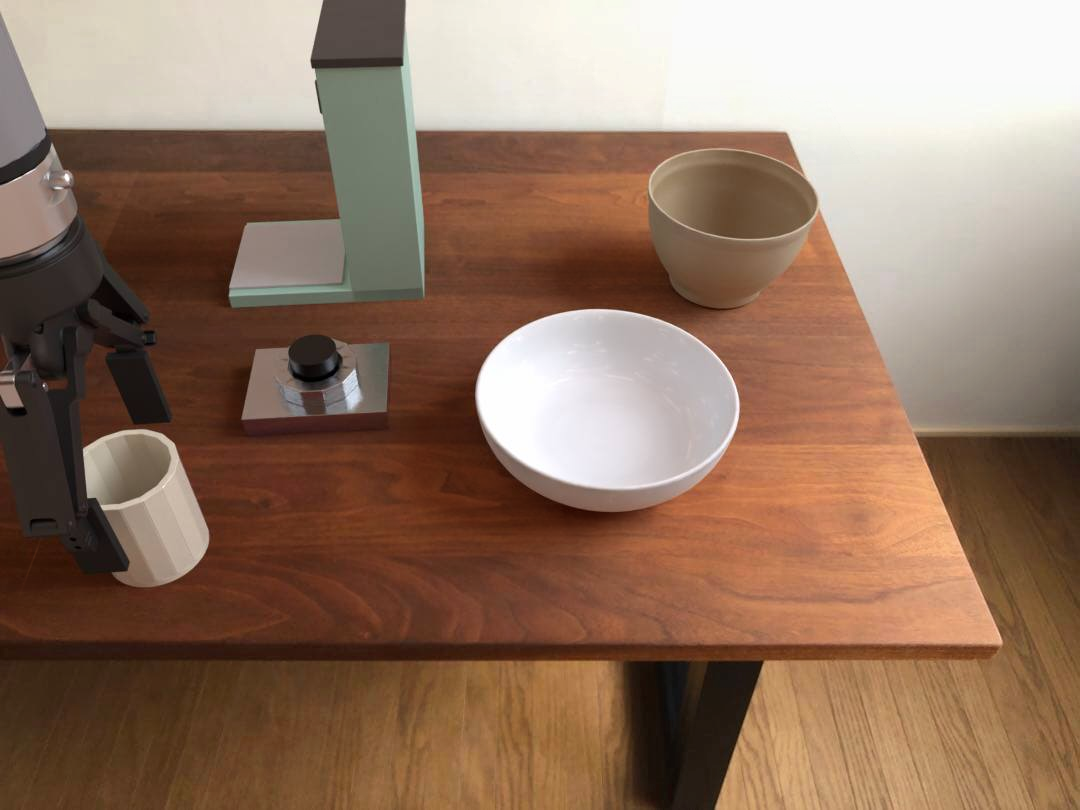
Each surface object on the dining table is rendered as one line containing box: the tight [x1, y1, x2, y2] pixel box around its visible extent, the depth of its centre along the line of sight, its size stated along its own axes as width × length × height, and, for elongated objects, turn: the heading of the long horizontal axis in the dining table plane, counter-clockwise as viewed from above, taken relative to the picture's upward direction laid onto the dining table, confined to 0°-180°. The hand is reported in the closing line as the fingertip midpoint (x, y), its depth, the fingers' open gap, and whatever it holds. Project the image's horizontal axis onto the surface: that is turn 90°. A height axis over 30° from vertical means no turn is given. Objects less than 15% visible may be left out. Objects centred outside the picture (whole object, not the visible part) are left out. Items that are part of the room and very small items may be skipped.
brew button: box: [288, 333, 339, 382], centre depth 76 cm, size 4×4×2 cm
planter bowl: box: [647, 147, 820, 309], centre depth 88 cm, size 16×16×11 cm
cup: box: [83, 428, 210, 588], centre depth 65 cm, size 7×7×9 cm
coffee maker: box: [227, 0, 425, 309], centre depth 85 cm, size 19×13×25 cm
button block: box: [240, 337, 393, 438], centre depth 78 cm, size 12×9×4 cm
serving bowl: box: [474, 308, 740, 513], centre depth 73 cm, size 21×21×7 cm
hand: (132, 488), depth 63 cm, fingers open, 13 cm apart
